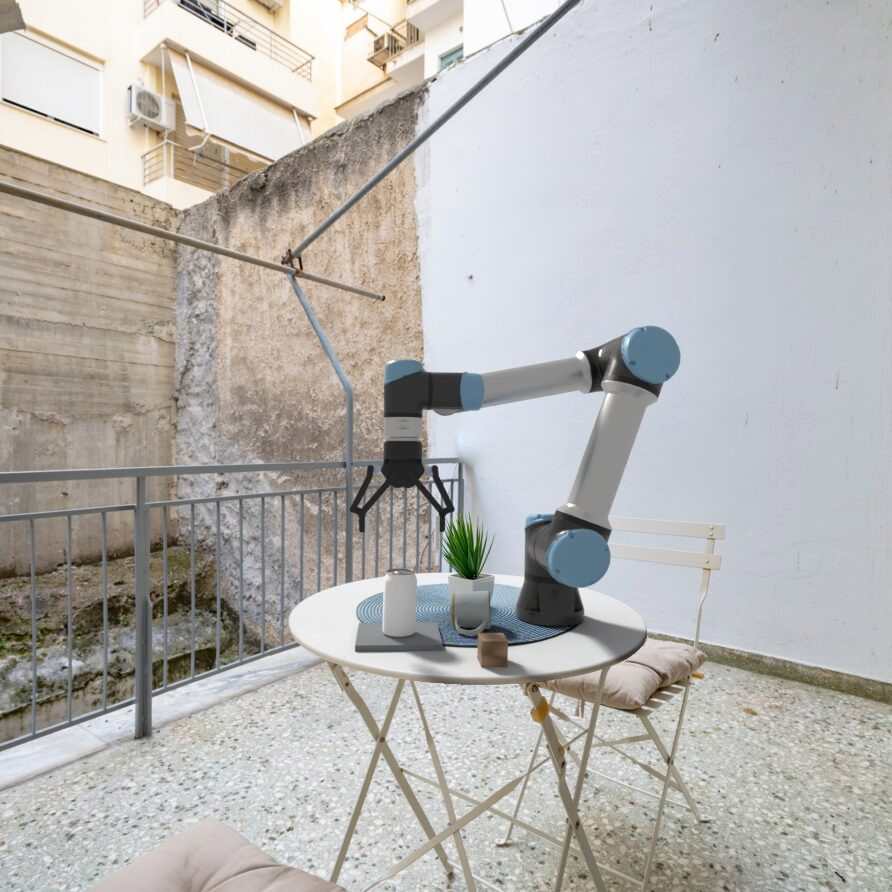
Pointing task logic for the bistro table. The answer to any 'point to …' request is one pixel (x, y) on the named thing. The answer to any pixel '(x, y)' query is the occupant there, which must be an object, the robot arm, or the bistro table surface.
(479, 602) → the ceramic mug
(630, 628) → the bistro table surface
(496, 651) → the walnut block
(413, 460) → the robot arm
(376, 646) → the mat
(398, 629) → the can
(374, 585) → the bistro table surface
